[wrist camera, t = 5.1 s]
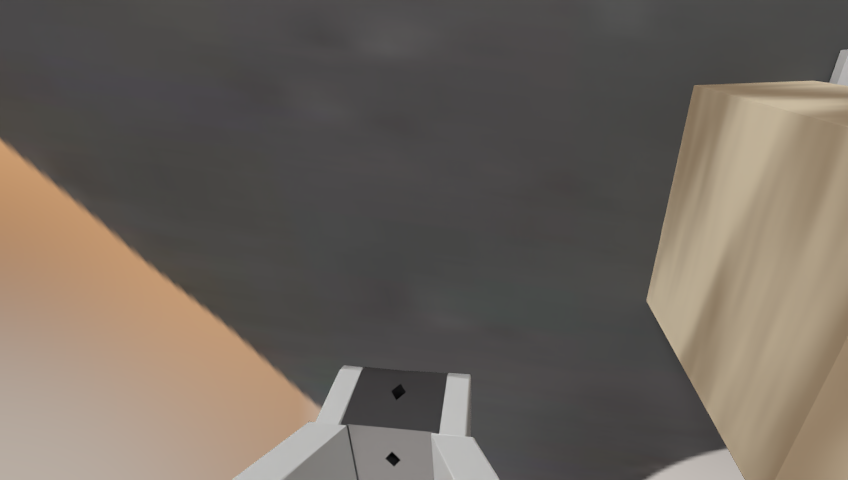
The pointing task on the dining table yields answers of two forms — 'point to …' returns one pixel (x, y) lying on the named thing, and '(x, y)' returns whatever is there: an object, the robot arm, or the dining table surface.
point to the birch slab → (763, 272)
